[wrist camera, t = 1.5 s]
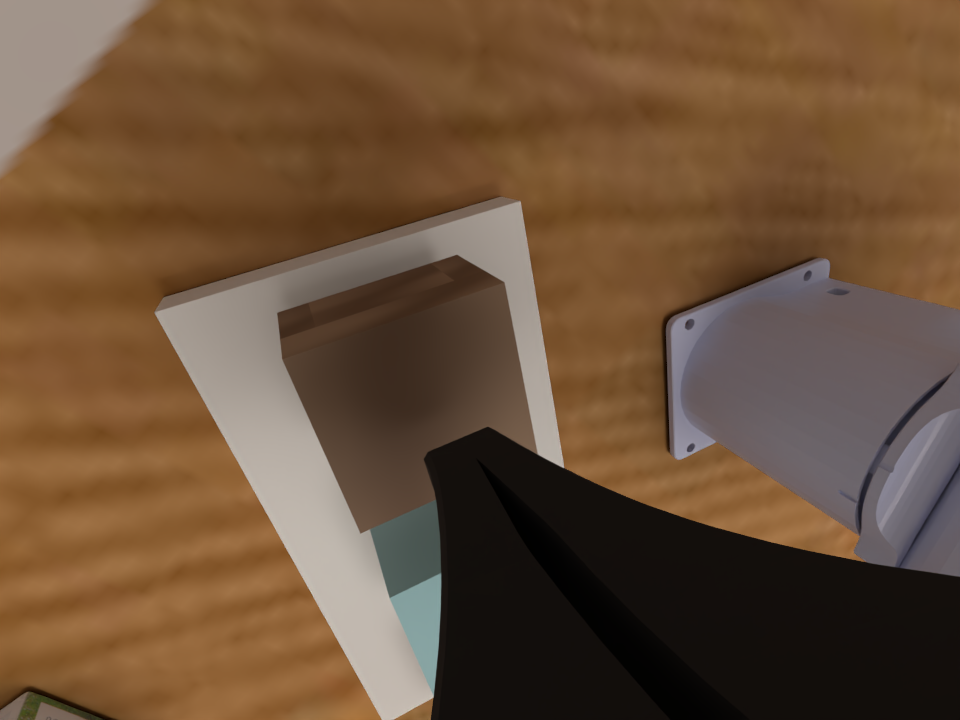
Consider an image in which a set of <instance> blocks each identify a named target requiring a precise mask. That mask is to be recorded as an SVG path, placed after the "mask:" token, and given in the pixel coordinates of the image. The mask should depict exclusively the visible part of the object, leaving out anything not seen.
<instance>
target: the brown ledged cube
mask: <svg viewBox="0 0 960 720" xmlns="http://www.w3.org/2000/svg"><path fill="white" fill-rule="evenodd" d="M277 316H278V325H279V334H280V344H281V353H282V360H283V362H284V365H285V367H286V369H287V371H288V373H289V376H290V378H291V380H292V382H293V385H294V387H295V389H296V391H297V393H298V396H299V398H300V400H301V402H302V405H303V407H304V409H305V411H306V413H307V416H308V418H309V420H310V422H311V425H312V427H313V429H314V431H315V434H316V436H317V438H318V440H319V442H320V445H321V447H322V449H323V451H324V454H325V456H326V458H327V460H328V462H329V465H330V467H331V469H332V471H333V474H334V476H335V478H336V480H337V482H338V485H339V487H340V489H341V491H342V494H343V496H344V498H345V500H346V502H347V505H348V507H349V509H350V511H351V514H352V516H353V518H354V520H355V522H356V525H357V527H358V529H359V531H360V534H361V533H363V532H365V531H367V530H370V529H372V528H374V527H376V526H379V525H381V524H383V523H385V522H388V521H390V520H392V519H394V518H396V517H399V516H401V515H403V514H405V513H408V512H410V511H412V510H414V509H416V508H419V507H421V506H423V505H425V504H428V503H430V502H432V501H434V500H436V497H435V492H434V489H433V486H432V483H431V480H430V477H429V474H428V471H427V468H426V465H425V462H424V458H425V456H426V454H427V452H429V451H431V450H433V449H436V448H438V447H441V446H443V445H445V444H448V443H450V442H452V441H455V440H457V439H459V438H462V437H464V436H467V435H469V434H471V433H474V432H476V431H478V430H481V429H483V428H486V427H490V428H492V429H494V430H496V431H498V432H499V433H501V434H503V435H504V436H506V437H508V438H510V439H511V440H513V441H515V442H516V443H518V444H520V445H522V446H523V447H525V448H527V449H529V450H531V451H532V452H534V453H536V454H538V452H537V447H536V442H535V437H534V432H533V427H532V421H531V416H530V411H529V406H528V401H527V396H526V390H525V385H524V380H523V375H522V370H521V364H520V359H519V354H518V349H517V344H516V339H515V333H514V328H513V323H512V318H511V313H510V308H509V302H508V297H507V292H506V287H505V282H503V281H501V280H500V279H498V278H496V277H495V276H493V275H491V274H489V273H488V272H486V271H484V270H482V269H481V268H479V267H477V266H476V265H474V264H472V263H470V262H469V261H467V260H465V259H464V258H462V257H460V256H458V255H454V256H451V257H448V258H445V259H442V260H439V261H436V262H433V263H430V264H427V265H423V266H420V267H417V268H414V269H411V270H408V271H405V272H402V273H399V274H396V275H393V276H389V277H386V278H383V279H380V280H377V281H374V282H371V283H368V284H365V285H362V286H358V287H355V288H352V289H349V290H346V291H343V292H340V293H337V294H334V295H331V296H327V297H324V298H321V299H318V300H315V301H312V302H309V303H306V304H303V305H300V306H296V307H293V308H290V309H287V310H284V311H281V312H278V313H277Z"/></svg>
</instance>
